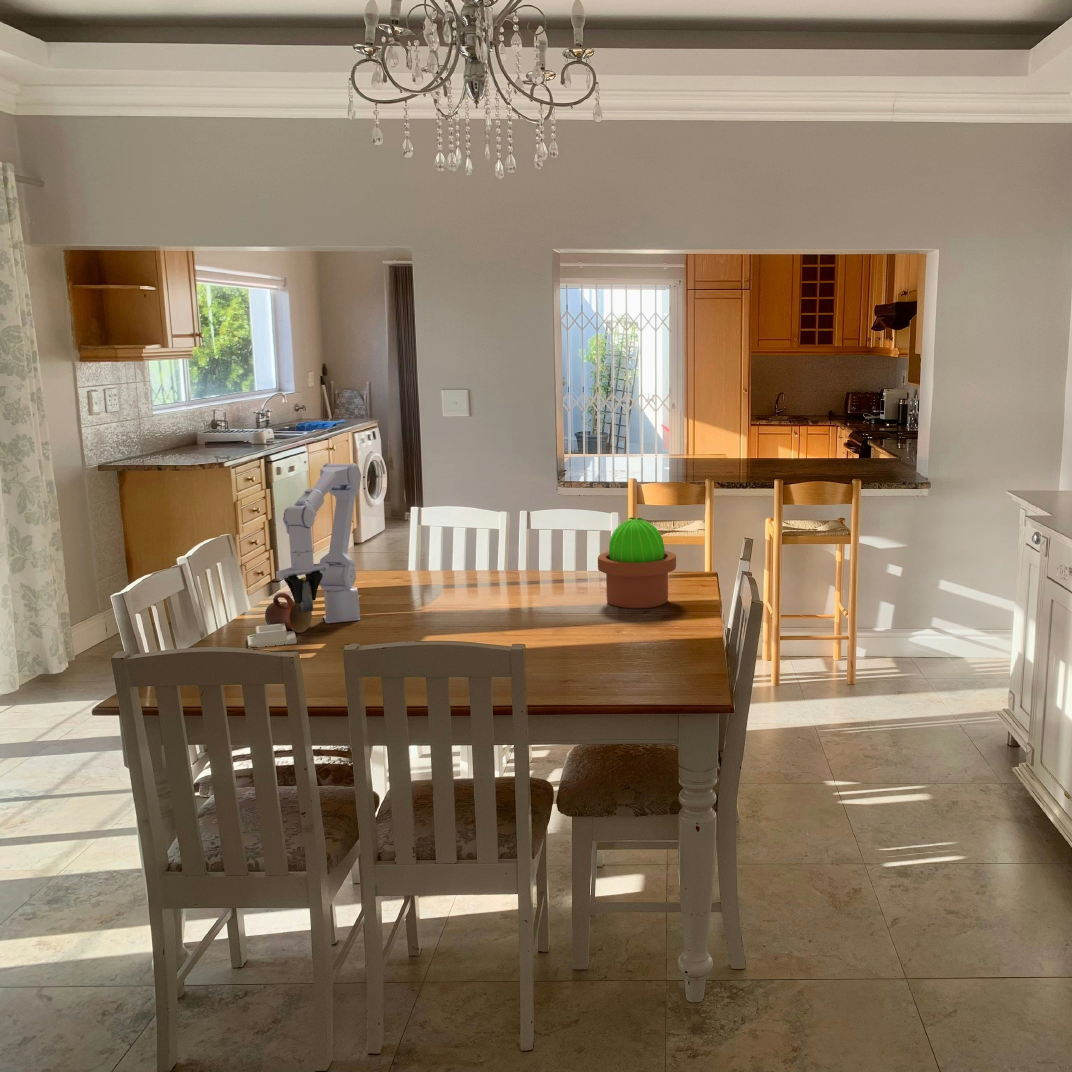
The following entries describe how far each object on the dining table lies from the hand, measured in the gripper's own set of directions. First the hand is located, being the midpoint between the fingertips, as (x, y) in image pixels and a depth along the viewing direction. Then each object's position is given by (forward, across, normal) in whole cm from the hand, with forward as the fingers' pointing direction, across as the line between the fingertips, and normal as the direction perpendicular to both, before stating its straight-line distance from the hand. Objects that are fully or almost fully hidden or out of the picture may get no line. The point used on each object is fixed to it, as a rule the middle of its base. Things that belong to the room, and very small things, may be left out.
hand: (305, 601), depth 263 cm
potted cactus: (+10, -84, +42) cm, 94 cm away
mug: (+4, +3, -15) cm, 16 cm away
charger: (+10, +9, -3) cm, 13 cm away
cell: (+2, 0, 0) cm, 2 cm away
